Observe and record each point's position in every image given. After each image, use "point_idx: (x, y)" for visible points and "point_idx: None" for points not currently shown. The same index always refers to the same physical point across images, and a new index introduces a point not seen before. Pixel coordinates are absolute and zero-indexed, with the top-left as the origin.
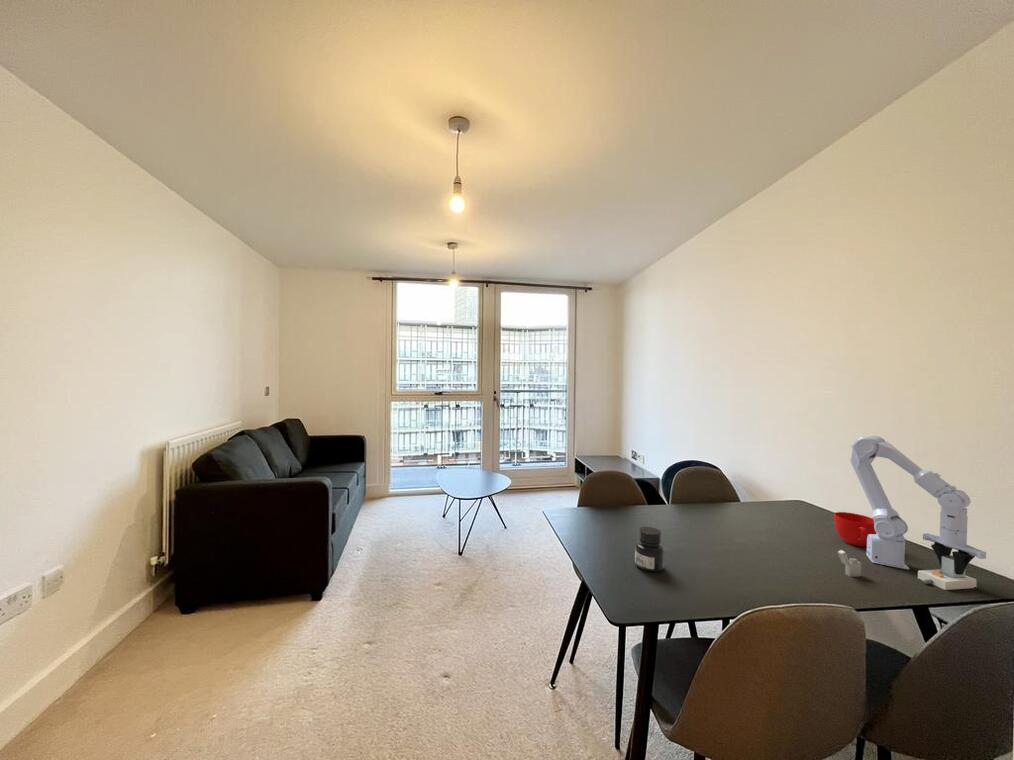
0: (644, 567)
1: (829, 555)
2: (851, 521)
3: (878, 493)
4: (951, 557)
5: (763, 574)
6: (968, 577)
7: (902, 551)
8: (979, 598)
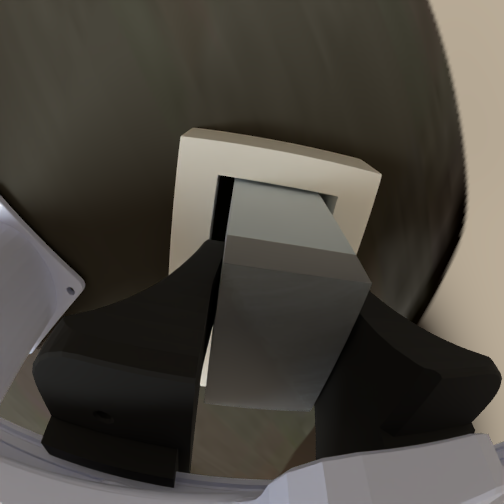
0: None
1: (5, 396)
2: None
3: None
4: (261, 362)
5: None
6: (340, 188)
7: (11, 349)
8: (399, 309)
